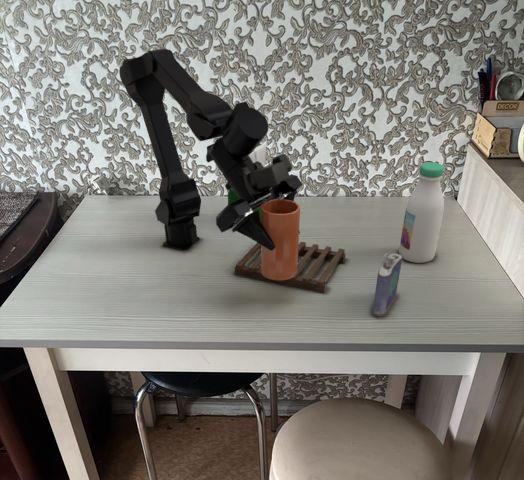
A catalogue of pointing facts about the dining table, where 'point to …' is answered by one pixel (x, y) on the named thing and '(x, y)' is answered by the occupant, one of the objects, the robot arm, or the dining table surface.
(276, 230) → the tumbler
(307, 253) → the drying rack
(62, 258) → the dining table surface
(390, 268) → the flask
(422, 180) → the milk bottle
